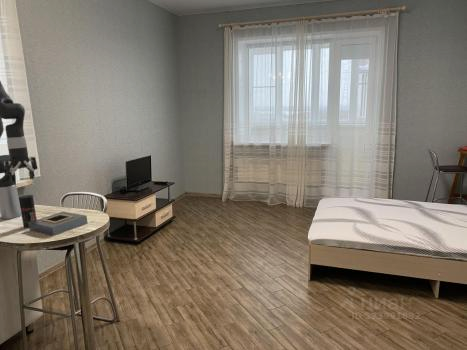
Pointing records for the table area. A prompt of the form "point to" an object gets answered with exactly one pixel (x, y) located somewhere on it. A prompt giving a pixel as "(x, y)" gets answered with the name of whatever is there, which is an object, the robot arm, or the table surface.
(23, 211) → the deodorant
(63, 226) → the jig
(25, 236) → the table surface
